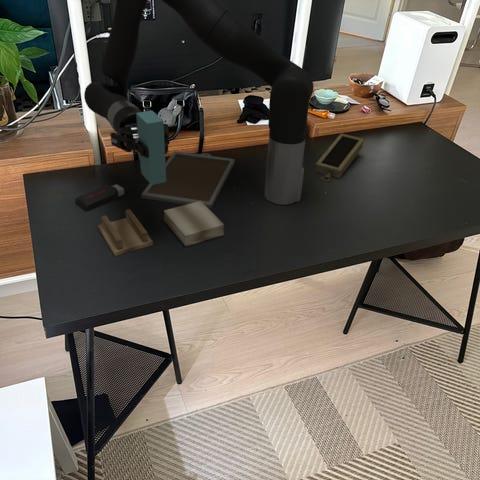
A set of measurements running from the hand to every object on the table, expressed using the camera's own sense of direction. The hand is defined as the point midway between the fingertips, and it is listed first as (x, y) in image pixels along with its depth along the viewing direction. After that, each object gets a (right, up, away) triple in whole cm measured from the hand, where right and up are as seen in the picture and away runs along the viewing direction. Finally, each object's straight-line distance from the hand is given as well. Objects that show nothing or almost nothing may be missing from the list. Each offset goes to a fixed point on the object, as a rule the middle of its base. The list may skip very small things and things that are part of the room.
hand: (156, 151), depth 100 cm
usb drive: (-19, -8, +26) cm, 33 cm away
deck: (+6, -15, +17) cm, 24 cm away
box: (+47, +4, +46) cm, 66 cm away
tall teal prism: (-2, -5, +6) cm, 8 cm away
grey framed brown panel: (+4, -1, +38) cm, 38 cm away
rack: (-10, -18, +13) cm, 24 cm away
